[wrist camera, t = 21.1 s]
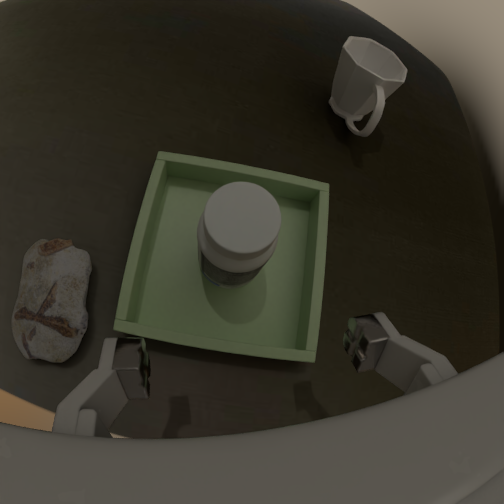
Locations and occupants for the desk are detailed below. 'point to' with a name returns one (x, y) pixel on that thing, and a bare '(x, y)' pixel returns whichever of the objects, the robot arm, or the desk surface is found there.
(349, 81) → the cup
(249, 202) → the pill bottle
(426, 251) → the desk surface
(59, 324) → the stone
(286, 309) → the sage tray
